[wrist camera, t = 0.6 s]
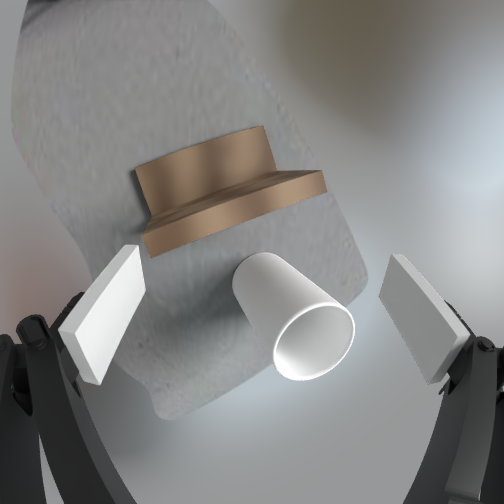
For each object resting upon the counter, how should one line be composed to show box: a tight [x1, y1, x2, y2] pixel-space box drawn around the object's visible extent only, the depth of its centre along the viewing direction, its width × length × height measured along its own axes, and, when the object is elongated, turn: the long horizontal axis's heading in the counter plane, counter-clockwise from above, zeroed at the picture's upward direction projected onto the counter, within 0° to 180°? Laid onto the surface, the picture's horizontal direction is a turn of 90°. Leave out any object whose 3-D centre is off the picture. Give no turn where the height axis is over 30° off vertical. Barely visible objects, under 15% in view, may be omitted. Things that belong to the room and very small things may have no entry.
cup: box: [232, 253, 355, 381], centre depth 30 cm, size 8×8×16 cm
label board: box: [135, 125, 327, 258], centre depth 27 cm, size 16×8×12 cm, turn 108°
